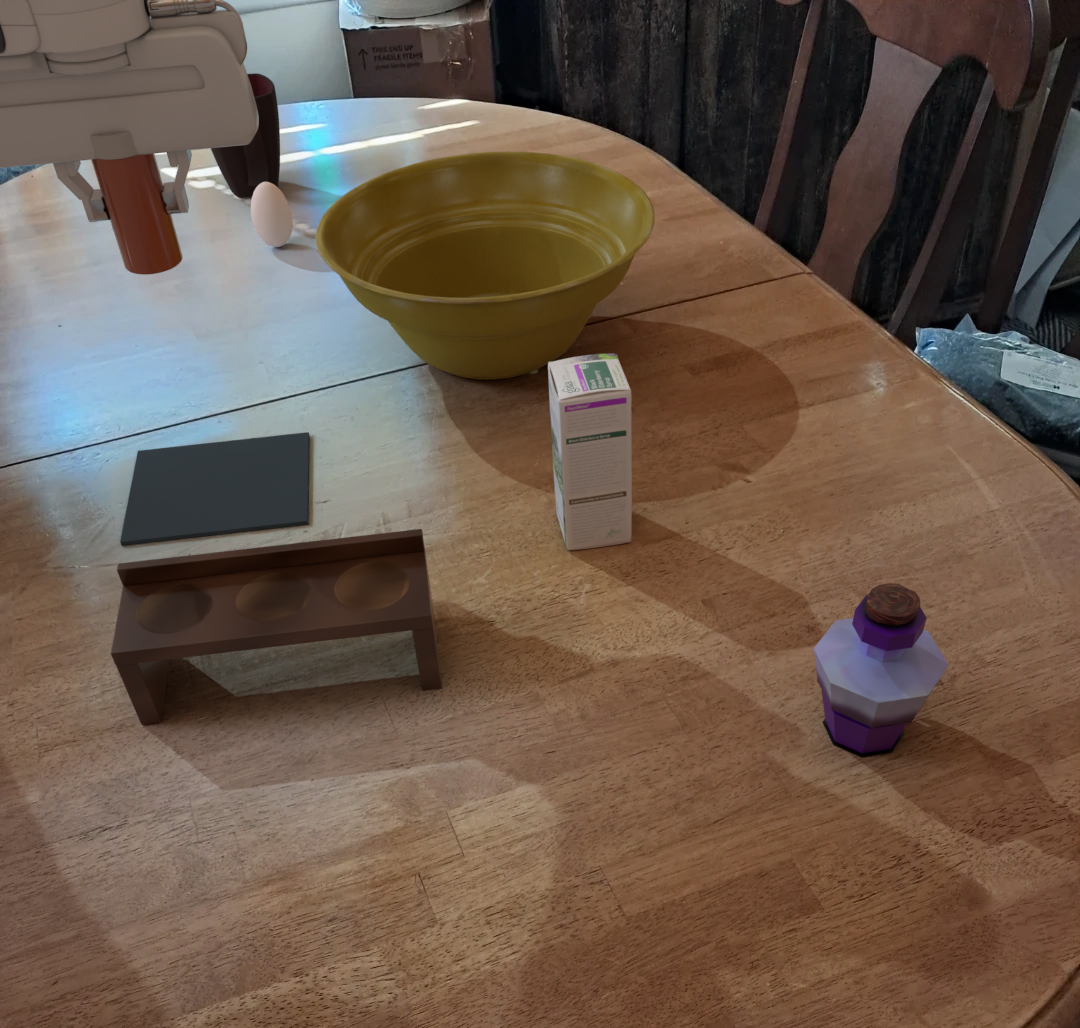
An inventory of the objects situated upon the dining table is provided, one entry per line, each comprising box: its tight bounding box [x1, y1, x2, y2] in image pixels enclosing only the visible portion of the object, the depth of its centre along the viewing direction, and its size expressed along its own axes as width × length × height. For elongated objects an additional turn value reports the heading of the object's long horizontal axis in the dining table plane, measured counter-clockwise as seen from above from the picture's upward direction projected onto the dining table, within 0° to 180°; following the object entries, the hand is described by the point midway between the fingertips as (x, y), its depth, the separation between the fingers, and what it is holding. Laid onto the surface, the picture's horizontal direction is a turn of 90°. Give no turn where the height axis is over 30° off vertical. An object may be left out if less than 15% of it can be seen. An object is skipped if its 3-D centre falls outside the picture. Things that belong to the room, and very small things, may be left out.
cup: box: [210, 73, 281, 199], centre depth 144 cm, size 10×14×12 cm
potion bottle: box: [813, 582, 949, 758], centre depth 76 cm, size 9×9×12 cm
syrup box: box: [547, 352, 633, 551], centre depth 92 cm, size 6×6×14 cm
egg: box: [250, 182, 294, 248], centre depth 135 cm, size 5×5×7 cm
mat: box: [119, 431, 310, 546], centre depth 104 cm, size 16×14×1 cm
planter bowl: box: [315, 151, 656, 381], centre depth 114 cm, size 32×32×13 cm
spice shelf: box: [110, 528, 443, 726], centre depth 84 cm, size 22×8×9 cm, turn 98°
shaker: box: [90, 131, 183, 276], centre depth 85 cm, size 5×5×10 cm
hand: (139, 214), depth 86 cm, fingers closed on shaker, 4 cm apart
